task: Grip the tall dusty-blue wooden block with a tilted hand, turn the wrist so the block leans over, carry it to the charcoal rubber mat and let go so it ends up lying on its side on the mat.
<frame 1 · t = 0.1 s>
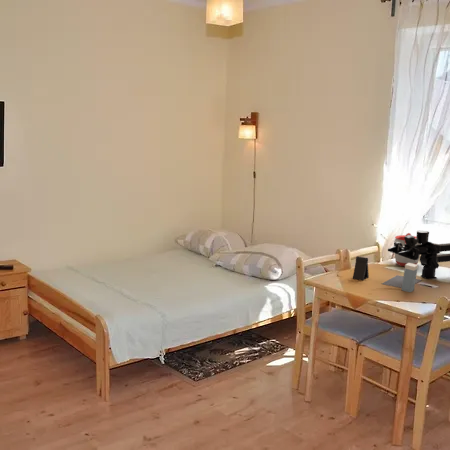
hand: (393, 251, 298), 17 cm above the table, tool horizontal, fingers open, 9 cm apart
tall block: (407, 290, 284), on the table, touching rubber mat
rubber mat: (401, 282, 299), on the table
black picture frame: (360, 278, 306), on the table
citrus juicer: (406, 265, 336), on the table
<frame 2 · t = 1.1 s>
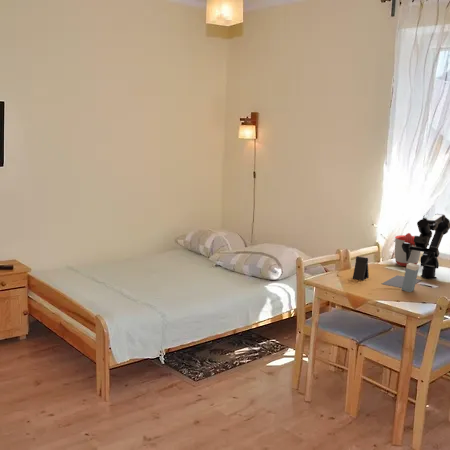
hand: (415, 262, 288), 14 cm above the table, tool tilted 45°, fingers open, 9 cm apart
nothing on the table moved.
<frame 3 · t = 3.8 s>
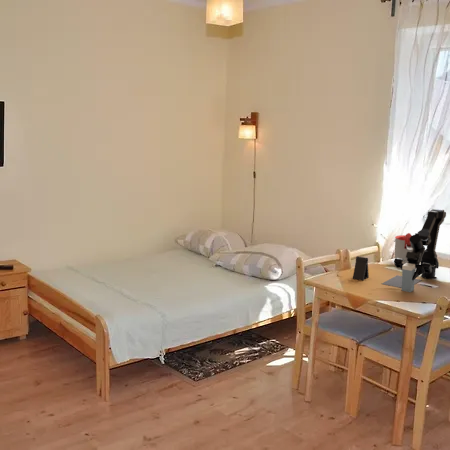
hand: (407, 279, 282), 7 cm above the table, tool tilted 45°, fingers closed on tall block, 5 cm apart
tall block: (407, 290, 284), on the table, tilted 6°, touching gripper
everything else where it was.
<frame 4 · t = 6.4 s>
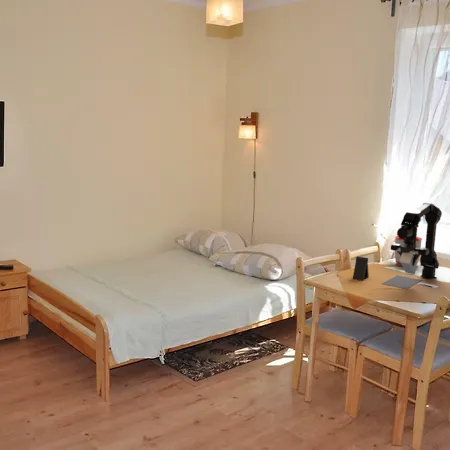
hand: (408, 265, 288), 12 cm above the table, tool pointing down, fingers closed on tall block, 5 cm apart
tall block: (411, 269, 293), point 8 cm above the table, tilted 51°, touching gripper
everything else where it was.
when the fingers open (7 cm above the table, at t = 9.3 s): tall block moves 2 cm and tips over, resting on rubber mat.
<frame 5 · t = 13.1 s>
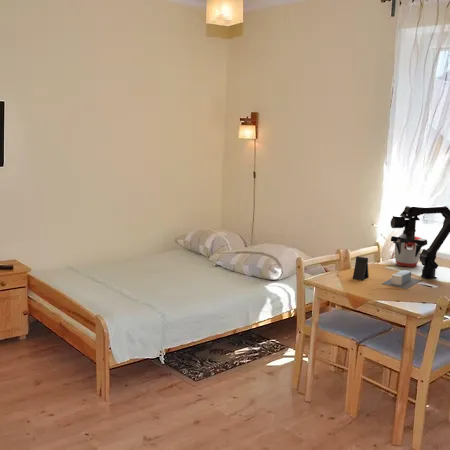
hand: (407, 255, 305), 13 cm above the table, tool pointing down, fingers open, 9 cm apart
tall block: (406, 274, 304), point 3 cm above the table, tilted 90°, touching rubber mat
everything else where it was.
at the end: tall block tilted 90°; tall block inside the target area on the rubber mat (6.9 cm from its centre), point 2.8 cm above the rubber mat's base; the gripper is holding nothing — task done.
